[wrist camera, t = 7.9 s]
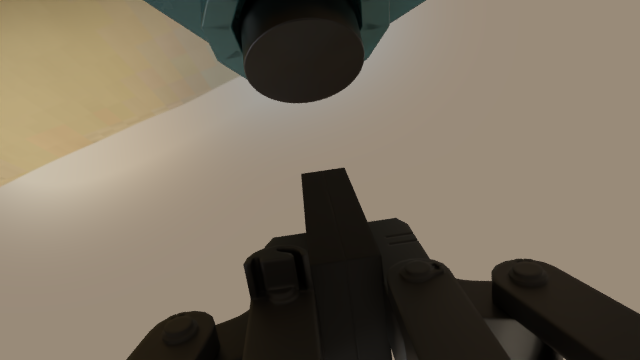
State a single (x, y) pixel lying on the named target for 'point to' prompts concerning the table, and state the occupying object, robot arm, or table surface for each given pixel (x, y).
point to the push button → (300, 48)
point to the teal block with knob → (225, 32)
